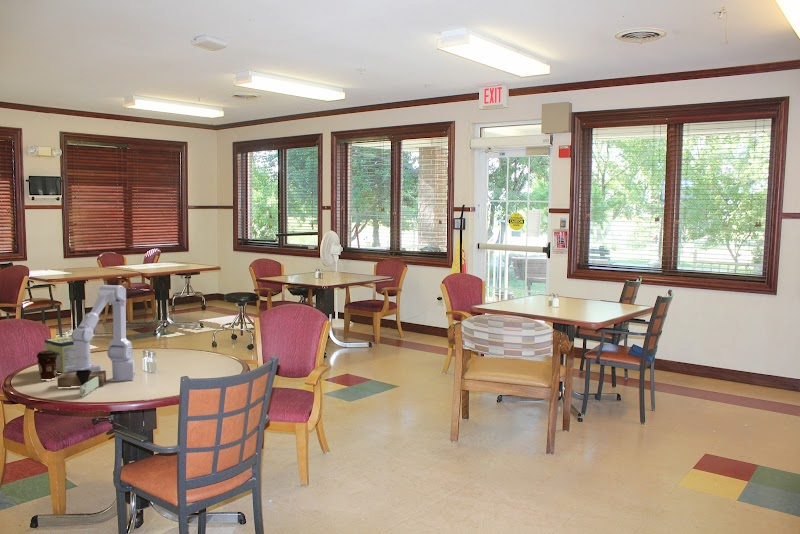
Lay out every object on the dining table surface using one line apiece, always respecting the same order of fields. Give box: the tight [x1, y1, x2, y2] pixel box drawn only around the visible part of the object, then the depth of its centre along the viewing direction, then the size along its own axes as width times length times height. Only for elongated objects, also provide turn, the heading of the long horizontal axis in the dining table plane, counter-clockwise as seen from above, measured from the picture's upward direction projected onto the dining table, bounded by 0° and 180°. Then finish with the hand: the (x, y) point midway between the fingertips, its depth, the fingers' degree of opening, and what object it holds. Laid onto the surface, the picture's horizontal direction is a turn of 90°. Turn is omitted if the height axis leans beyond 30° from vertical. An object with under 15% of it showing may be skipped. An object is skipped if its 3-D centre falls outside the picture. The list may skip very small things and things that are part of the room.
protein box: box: [44, 335, 77, 374], centre depth 321 cm, size 10×16×16 cm
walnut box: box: [56, 370, 107, 388], centre depth 297 cm, size 18×9×5 cm, turn 105°
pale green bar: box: [79, 376, 99, 397], centre depth 286 cm, size 16×2×4 cm, turn 2°
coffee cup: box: [36, 350, 58, 380], centre depth 306 cm, size 9×8×13 cm
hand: (84, 387), depth 285 cm, fingers closed
